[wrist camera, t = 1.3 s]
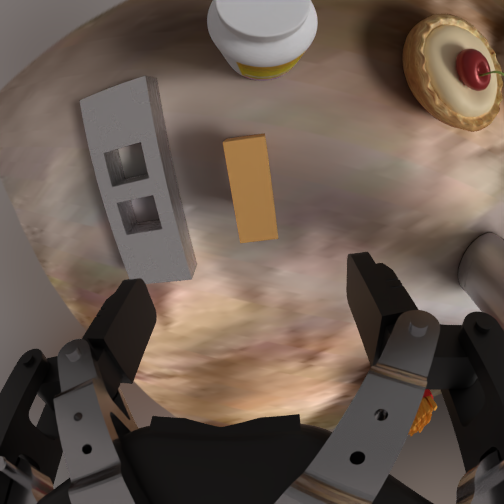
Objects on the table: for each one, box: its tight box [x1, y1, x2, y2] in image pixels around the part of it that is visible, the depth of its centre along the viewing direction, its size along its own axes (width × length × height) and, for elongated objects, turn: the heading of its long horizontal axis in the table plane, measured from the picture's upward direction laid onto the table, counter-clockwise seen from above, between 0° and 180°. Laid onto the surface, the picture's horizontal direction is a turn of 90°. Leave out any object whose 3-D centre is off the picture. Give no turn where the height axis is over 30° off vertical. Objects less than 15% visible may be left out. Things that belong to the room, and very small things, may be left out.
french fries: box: [408, 389, 437, 436], centre depth 35 cm, size 8×4×12 cm, turn 4°
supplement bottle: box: [207, 0, 317, 81], centre depth 15 cm, size 7×7×13 cm
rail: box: [80, 76, 197, 284], centre depth 26 cm, size 7×20×3 cm, turn 8°
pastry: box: [402, 14, 504, 132], centre depth 17 cm, size 12×12×9 cm
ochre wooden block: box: [223, 133, 278, 243], centre depth 24 cm, size 3×8×6 cm, turn 8°
